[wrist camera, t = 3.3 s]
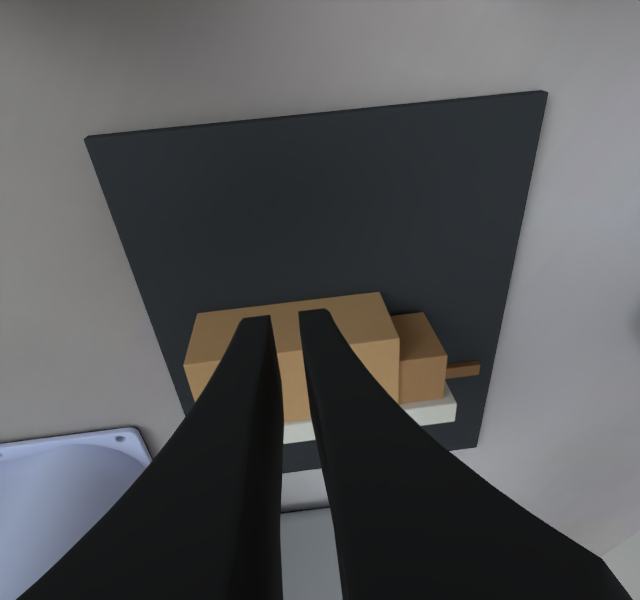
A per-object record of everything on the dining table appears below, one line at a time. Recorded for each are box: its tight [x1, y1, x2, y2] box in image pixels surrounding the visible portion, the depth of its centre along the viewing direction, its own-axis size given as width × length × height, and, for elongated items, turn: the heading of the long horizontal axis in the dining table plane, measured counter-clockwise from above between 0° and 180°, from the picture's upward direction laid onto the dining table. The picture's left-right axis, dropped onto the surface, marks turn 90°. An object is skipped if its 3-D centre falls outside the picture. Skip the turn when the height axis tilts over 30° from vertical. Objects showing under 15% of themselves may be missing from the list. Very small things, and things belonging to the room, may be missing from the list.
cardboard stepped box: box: [183, 292, 457, 444], centre depth 21 cm, size 12×5×4 cm, turn 94°
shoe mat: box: [84, 90, 548, 473], centre depth 23 cm, size 18×22×1 cm
